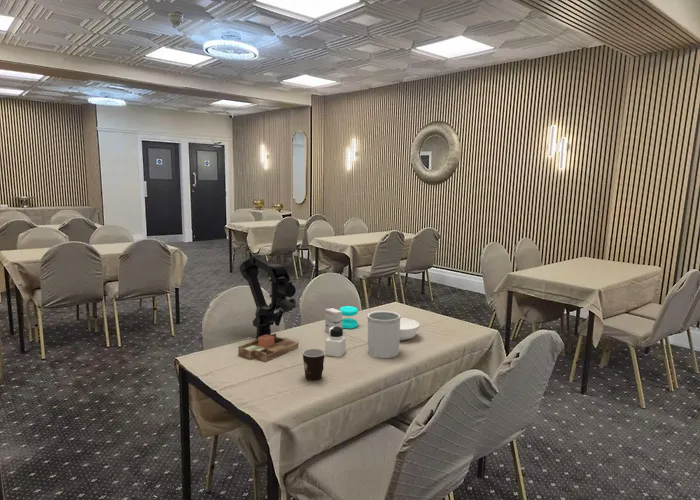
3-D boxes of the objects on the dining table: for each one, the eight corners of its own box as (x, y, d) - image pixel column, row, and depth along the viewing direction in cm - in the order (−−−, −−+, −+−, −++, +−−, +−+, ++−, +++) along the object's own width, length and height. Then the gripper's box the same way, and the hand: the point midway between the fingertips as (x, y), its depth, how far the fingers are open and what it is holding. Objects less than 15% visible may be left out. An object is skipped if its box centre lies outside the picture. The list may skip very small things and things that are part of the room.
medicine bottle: (345, 352, 207) (346, 326, 205) (340, 357, 200) (340, 331, 199) (331, 349, 209) (331, 324, 208) (325, 355, 203) (325, 329, 201)
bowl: (376, 340, 223) (377, 326, 222) (388, 329, 240) (388, 316, 239) (413, 346, 216) (414, 331, 215) (422, 334, 233) (423, 320, 232)
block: (258, 344, 207) (258, 337, 207) (266, 341, 211) (266, 334, 211) (266, 347, 204) (266, 339, 204) (274, 344, 208) (274, 336, 208)
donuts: (359, 306, 246) (356, 311, 236) (359, 324, 247) (355, 330, 238) (341, 304, 248) (337, 309, 238) (341, 322, 249) (336, 328, 240)
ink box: (342, 334, 231) (343, 311, 229) (334, 335, 228) (335, 312, 226) (332, 329, 238) (332, 307, 236) (324, 331, 235) (324, 308, 233)
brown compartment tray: (238, 355, 201) (238, 346, 200) (275, 341, 219) (275, 333, 219) (262, 363, 193) (262, 354, 192) (298, 348, 211) (298, 339, 210)
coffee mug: (302, 372, 184) (302, 348, 183) (324, 372, 185) (324, 348, 183) (302, 385, 173) (302, 360, 171) (325, 385, 173) (325, 359, 172)
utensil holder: (361, 356, 203) (362, 317, 200) (372, 345, 216) (373, 308, 214) (394, 361, 198) (395, 321, 195) (402, 349, 211) (404, 312, 209)
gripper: (275, 299, 199) (275, 334, 201) (304, 291, 214) (304, 324, 216) (257, 295, 205) (257, 329, 208) (286, 288, 220) (286, 319, 223)
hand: (277, 325), depth 213 cm, fingers closed
